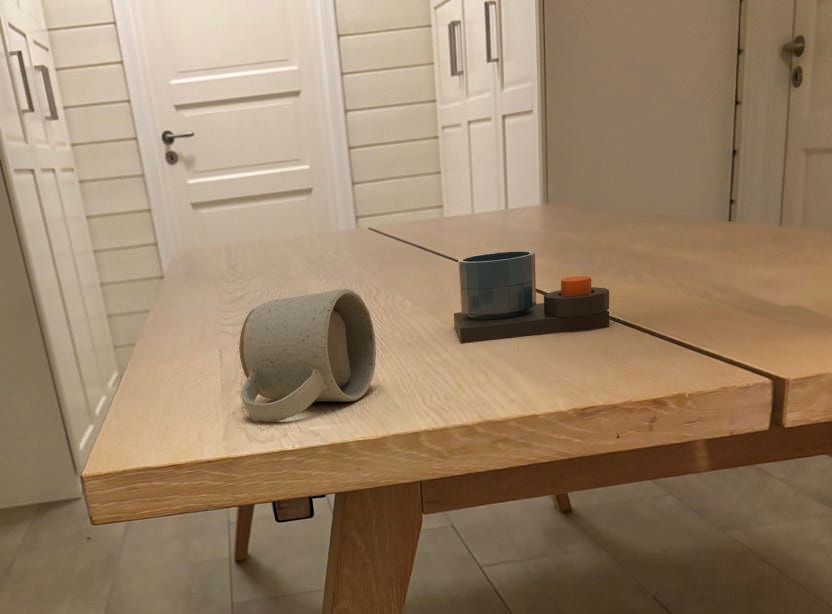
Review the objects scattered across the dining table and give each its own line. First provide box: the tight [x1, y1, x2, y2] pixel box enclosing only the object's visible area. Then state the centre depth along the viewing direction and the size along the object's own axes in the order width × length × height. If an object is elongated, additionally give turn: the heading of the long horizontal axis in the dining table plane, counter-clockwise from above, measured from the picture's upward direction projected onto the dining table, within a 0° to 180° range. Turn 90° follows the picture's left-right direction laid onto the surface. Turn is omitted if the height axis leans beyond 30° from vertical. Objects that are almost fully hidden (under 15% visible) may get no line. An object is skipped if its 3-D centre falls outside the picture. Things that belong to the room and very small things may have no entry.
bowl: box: [457, 250, 537, 320], centre depth 88 cm, size 7×7×5 cm
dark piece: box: [453, 286, 610, 345], centre depth 88 cm, size 13×10×3 cm
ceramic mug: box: [238, 288, 377, 423], centre depth 69 cm, size 11×8×8 cm
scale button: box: [560, 275, 592, 296], centre depth 85 cm, size 3×3×2 cm
